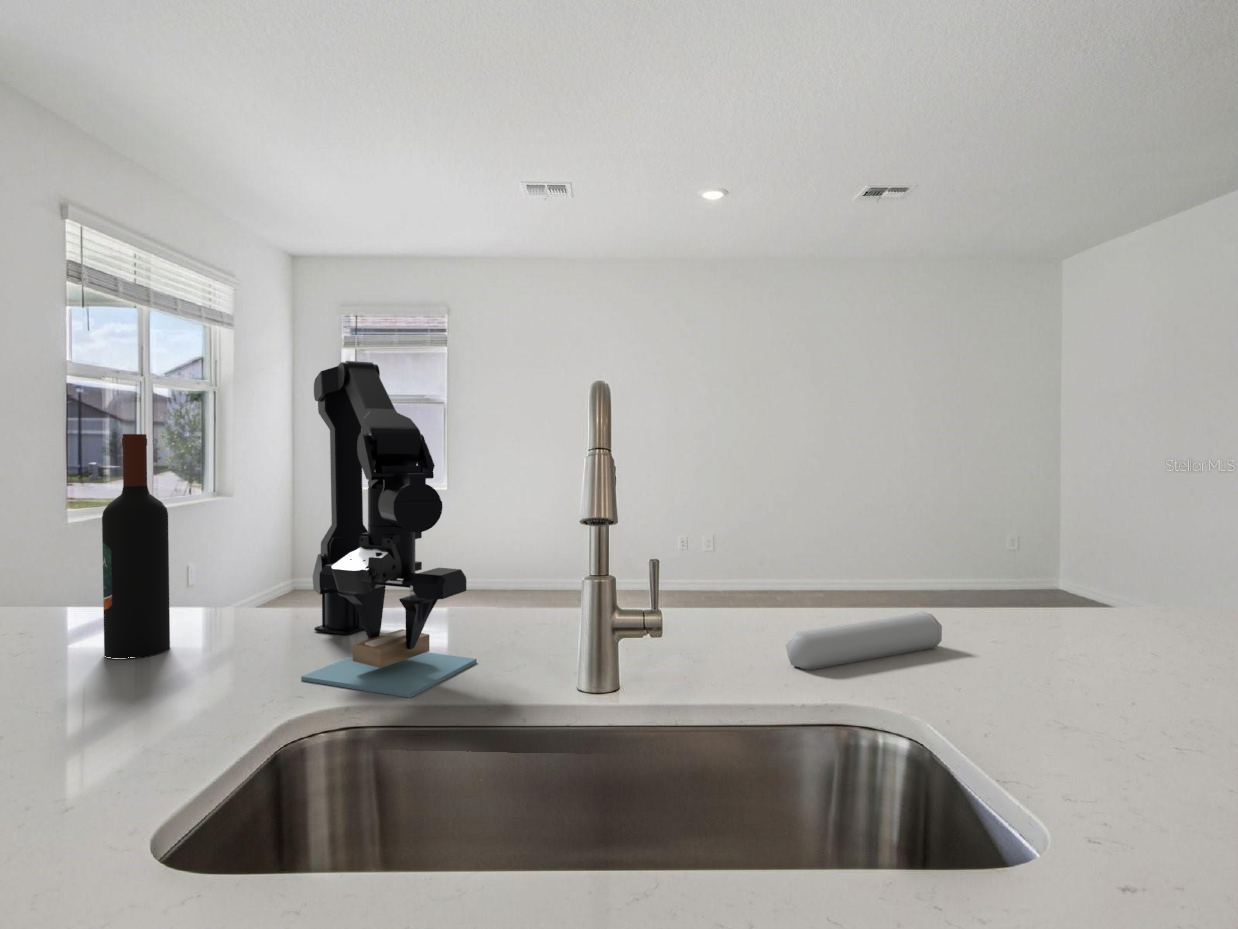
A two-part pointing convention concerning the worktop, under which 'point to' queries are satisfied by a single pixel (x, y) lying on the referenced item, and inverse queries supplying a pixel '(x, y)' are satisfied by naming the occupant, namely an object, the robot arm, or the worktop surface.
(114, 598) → the wine bottle
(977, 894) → the worktop surface
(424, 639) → the brown cardboard box
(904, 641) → the tube
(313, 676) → the mat
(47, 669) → the worktop surface
